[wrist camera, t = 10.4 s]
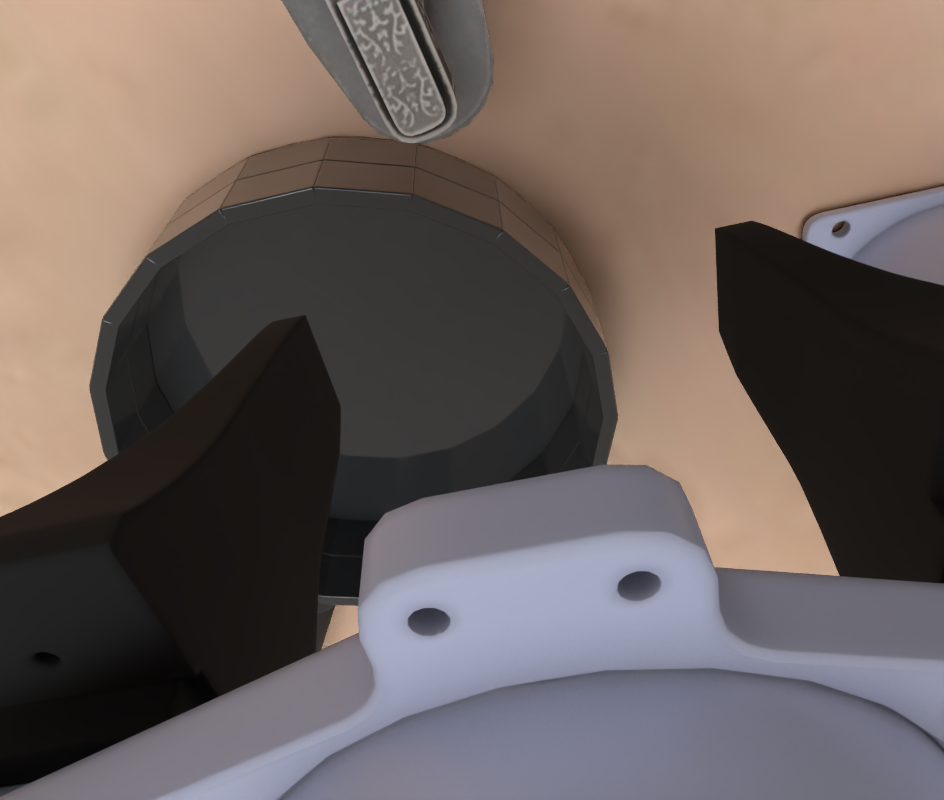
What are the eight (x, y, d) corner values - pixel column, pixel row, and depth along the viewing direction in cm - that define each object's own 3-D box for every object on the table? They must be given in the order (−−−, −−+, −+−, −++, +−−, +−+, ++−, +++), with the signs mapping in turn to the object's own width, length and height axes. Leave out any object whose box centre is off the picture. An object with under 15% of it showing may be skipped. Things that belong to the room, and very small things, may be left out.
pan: (554, 80, 22) (575, 125, 18) (618, 484, 30) (640, 563, 27) (46, 203, 23) (-19, 264, 20) (243, 554, 32) (220, 637, 28)
